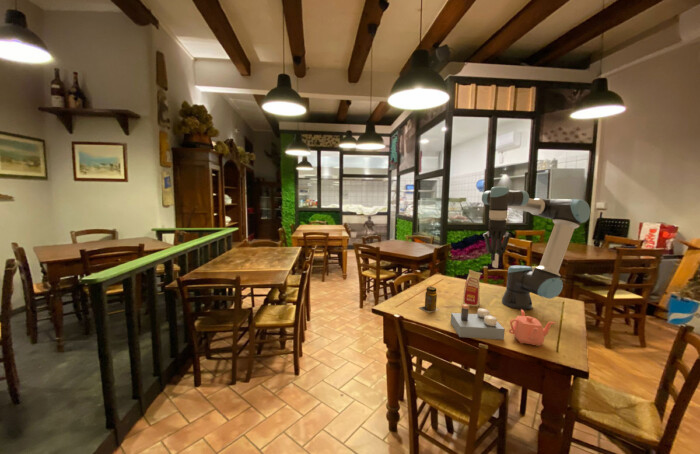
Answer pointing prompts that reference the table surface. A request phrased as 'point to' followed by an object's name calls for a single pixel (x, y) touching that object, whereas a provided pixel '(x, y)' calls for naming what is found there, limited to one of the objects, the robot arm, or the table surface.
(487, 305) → the table surface
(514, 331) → the teapot
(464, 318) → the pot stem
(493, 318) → the knob
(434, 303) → the condiment
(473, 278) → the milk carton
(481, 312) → the knob
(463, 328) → the mount
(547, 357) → the table surface
